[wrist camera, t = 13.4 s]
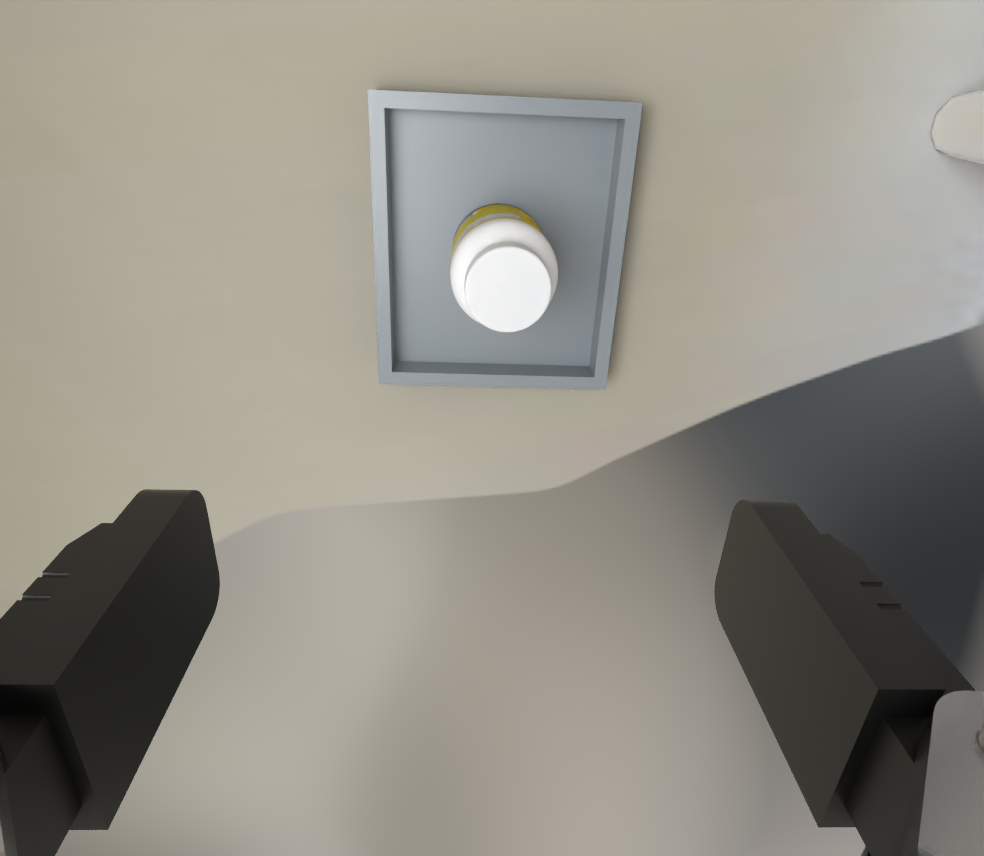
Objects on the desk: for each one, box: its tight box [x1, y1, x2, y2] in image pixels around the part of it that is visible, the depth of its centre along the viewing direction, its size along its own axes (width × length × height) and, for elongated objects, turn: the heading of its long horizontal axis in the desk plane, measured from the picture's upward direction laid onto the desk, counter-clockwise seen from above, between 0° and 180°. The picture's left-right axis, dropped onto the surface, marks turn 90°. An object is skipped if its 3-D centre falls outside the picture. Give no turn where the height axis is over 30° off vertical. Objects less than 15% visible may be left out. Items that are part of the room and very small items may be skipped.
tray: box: [368, 90, 643, 390], centre depth 38 cm, size 16×14×2 cm
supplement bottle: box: [450, 203, 558, 332], centre depth 34 cm, size 5×5×10 cm
